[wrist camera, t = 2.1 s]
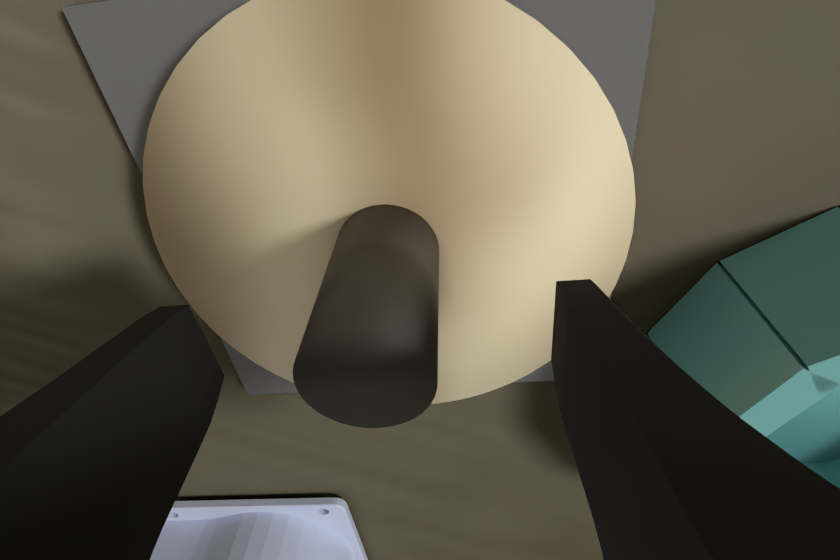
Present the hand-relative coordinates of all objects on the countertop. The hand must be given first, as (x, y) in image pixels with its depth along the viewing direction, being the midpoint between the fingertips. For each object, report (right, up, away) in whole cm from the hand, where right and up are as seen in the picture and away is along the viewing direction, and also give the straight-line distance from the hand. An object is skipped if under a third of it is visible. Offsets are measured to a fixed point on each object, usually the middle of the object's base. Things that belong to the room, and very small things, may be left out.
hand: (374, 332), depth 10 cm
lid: (0, +2, +3) cm, 4 cm away
